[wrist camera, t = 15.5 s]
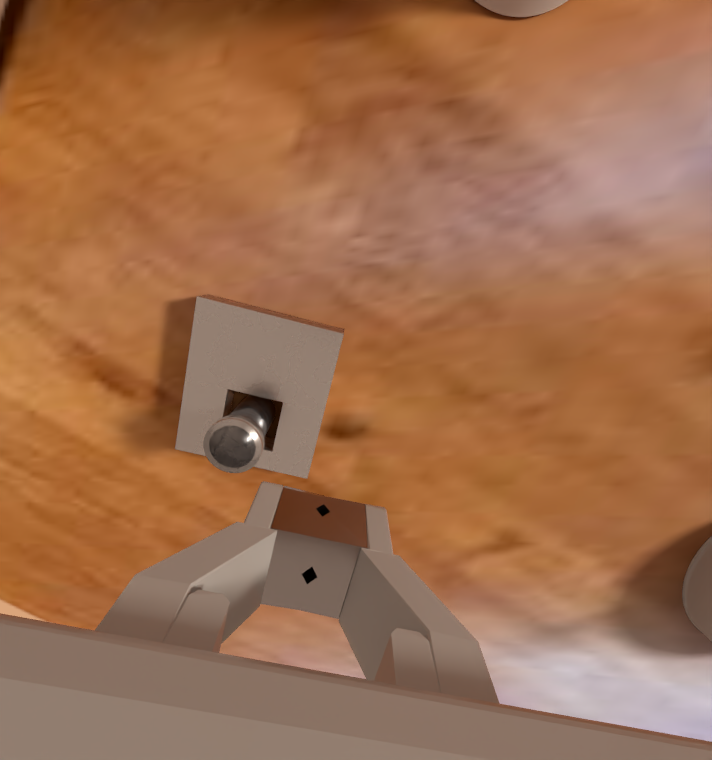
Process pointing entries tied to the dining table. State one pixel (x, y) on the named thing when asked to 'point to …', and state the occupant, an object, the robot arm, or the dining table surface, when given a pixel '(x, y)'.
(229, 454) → the flashlight
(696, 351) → the dining table surface
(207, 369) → the jig
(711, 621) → the grey dome pendant lamp
